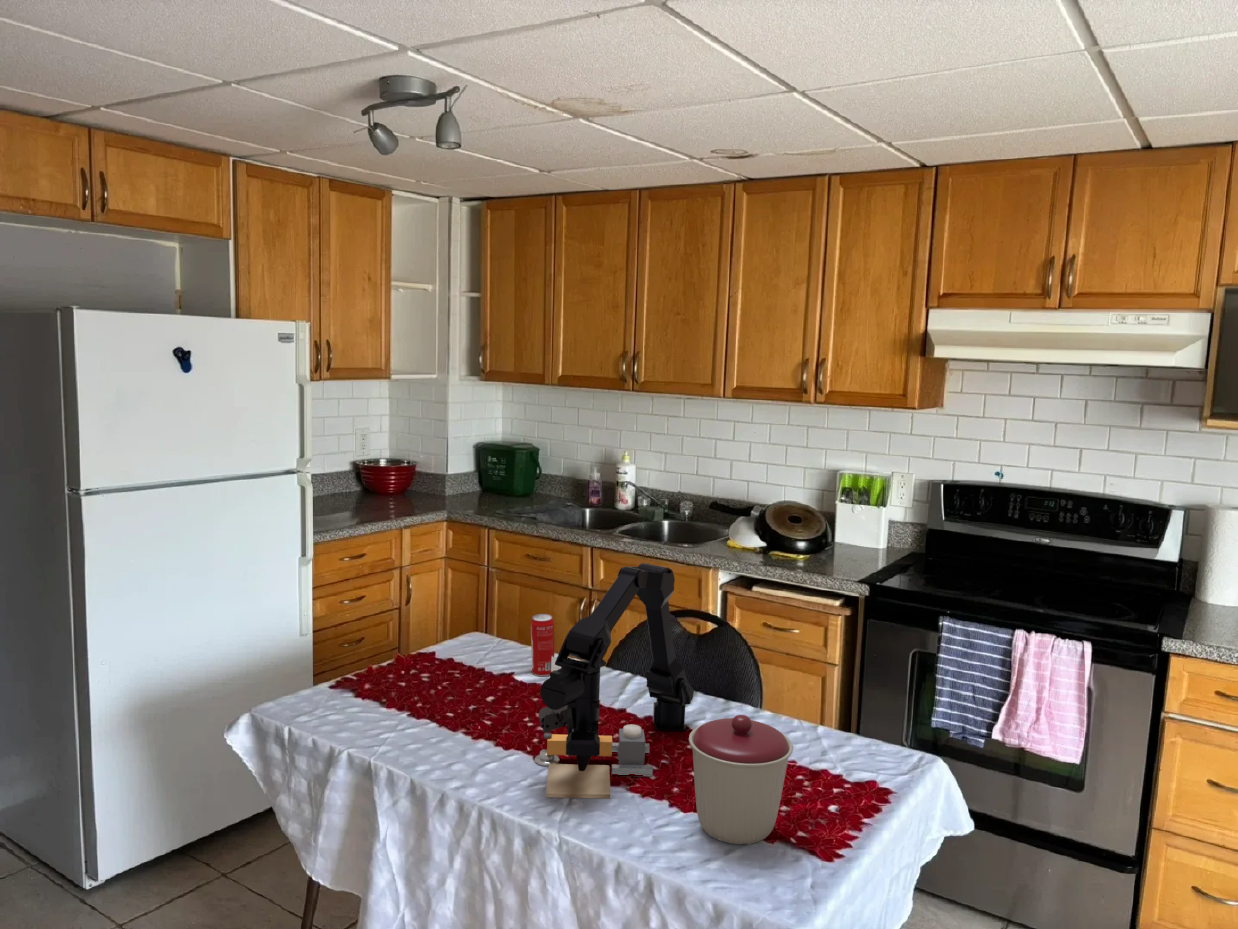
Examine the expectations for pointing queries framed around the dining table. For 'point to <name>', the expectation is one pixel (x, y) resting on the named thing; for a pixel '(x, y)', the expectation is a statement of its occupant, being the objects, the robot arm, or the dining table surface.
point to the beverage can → (542, 644)
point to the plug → (631, 745)
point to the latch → (558, 744)
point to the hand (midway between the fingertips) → (581, 770)
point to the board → (578, 781)
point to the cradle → (616, 769)
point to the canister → (738, 777)
